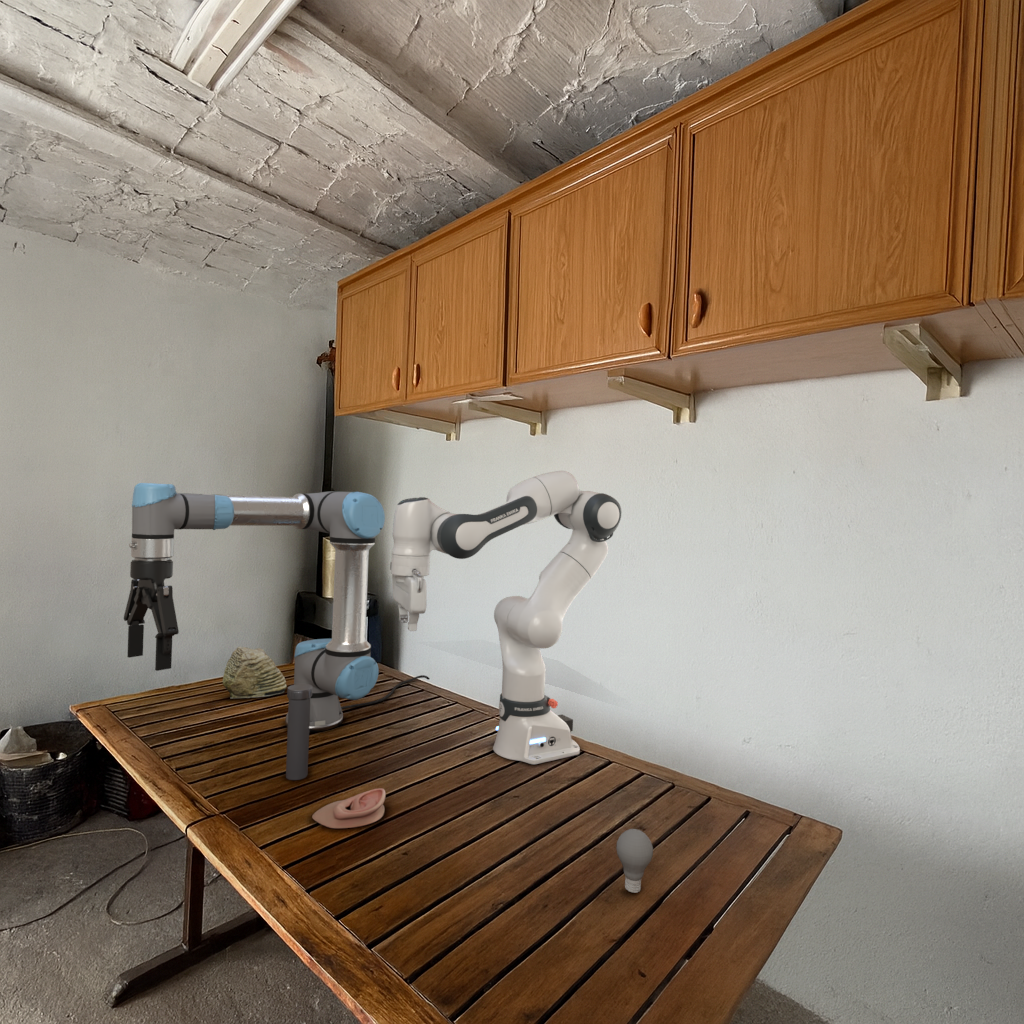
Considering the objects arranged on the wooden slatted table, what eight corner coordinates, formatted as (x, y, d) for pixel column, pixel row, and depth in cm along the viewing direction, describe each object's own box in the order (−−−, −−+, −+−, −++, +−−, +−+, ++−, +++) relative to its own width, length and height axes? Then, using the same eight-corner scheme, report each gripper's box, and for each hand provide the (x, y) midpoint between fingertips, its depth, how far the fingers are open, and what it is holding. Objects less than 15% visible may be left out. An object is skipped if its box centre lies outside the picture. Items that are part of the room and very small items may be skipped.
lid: (282, 696, 142) (282, 687, 142) (302, 691, 147) (302, 682, 147) (296, 701, 139) (297, 692, 139) (317, 696, 143) (317, 687, 143)
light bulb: (610, 879, 108) (613, 822, 108) (644, 879, 109) (647, 822, 109) (619, 902, 102) (622, 840, 102) (655, 901, 103) (658, 840, 103)
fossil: (218, 695, 195) (220, 647, 195) (278, 685, 208) (279, 640, 207) (228, 703, 189) (230, 653, 188) (289, 692, 201) (290, 645, 201)
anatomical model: (304, 803, 122) (333, 778, 133) (303, 824, 122) (332, 797, 133) (368, 813, 119) (392, 787, 131) (368, 834, 119) (391, 806, 131)
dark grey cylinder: (281, 776, 143) (284, 689, 142) (299, 769, 146) (302, 684, 146) (294, 782, 140) (297, 693, 140) (311, 775, 144) (315, 689, 143)
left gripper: (108, 554, 134) (104, 654, 134) (159, 565, 118) (155, 678, 119) (146, 552, 140) (143, 648, 140) (199, 563, 124) (195, 671, 124)
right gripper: (434, 572, 138) (432, 635, 139) (414, 562, 157) (411, 617, 158) (406, 572, 136) (403, 636, 136) (388, 562, 155) (386, 618, 155)
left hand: (148, 662), depth 129 cm, fingers open, 13 cm apart
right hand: (407, 626), depth 147 cm, fingers open, 8 cm apart
